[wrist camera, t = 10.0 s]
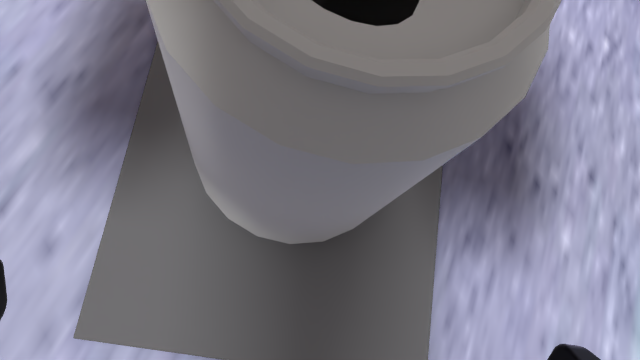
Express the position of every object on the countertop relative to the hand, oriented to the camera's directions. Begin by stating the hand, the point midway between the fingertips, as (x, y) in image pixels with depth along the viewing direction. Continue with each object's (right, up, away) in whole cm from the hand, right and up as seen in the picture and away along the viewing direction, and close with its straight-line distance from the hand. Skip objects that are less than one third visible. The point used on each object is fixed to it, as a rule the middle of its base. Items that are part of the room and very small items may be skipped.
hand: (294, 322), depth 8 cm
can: (-1, +3, +11) cm, 11 cm away
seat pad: (-1, +4, +11) cm, 12 cm away
